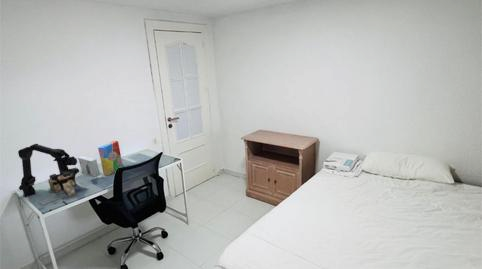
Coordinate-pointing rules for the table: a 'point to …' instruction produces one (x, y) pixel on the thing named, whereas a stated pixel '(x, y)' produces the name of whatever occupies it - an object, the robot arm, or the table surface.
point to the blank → (68, 189)
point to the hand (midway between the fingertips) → (67, 183)
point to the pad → (53, 199)
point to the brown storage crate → (56, 187)
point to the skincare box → (89, 165)
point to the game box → (110, 157)
